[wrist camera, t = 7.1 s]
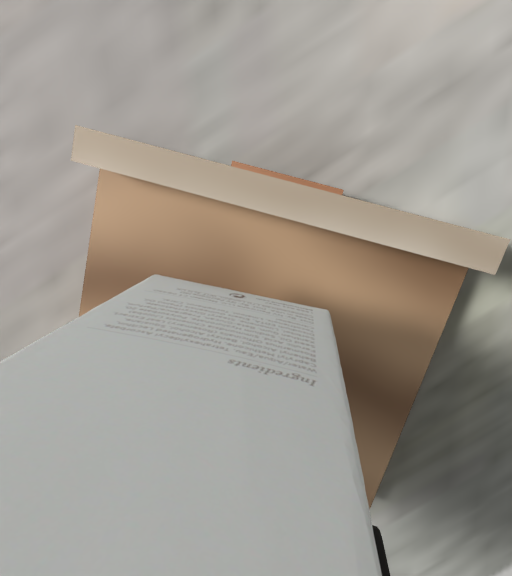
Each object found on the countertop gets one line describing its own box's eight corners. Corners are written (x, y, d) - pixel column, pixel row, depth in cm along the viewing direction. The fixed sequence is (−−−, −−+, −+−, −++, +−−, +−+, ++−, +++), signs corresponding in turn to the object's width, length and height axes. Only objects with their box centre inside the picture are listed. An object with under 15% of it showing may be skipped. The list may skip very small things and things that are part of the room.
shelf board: (366, 493, 18) (377, 548, 16) (77, 403, 19) (37, 439, 16) (473, 226, 15) (512, 233, 12) (117, 133, 16) (76, 119, 13)
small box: (155, 269, 12) (-738, 708, 2) (334, 306, 11) (554, 1197, 1) (131, 481, 14) (-343, 1255, 4) (282, 520, 13) (207, 1518, 3)
